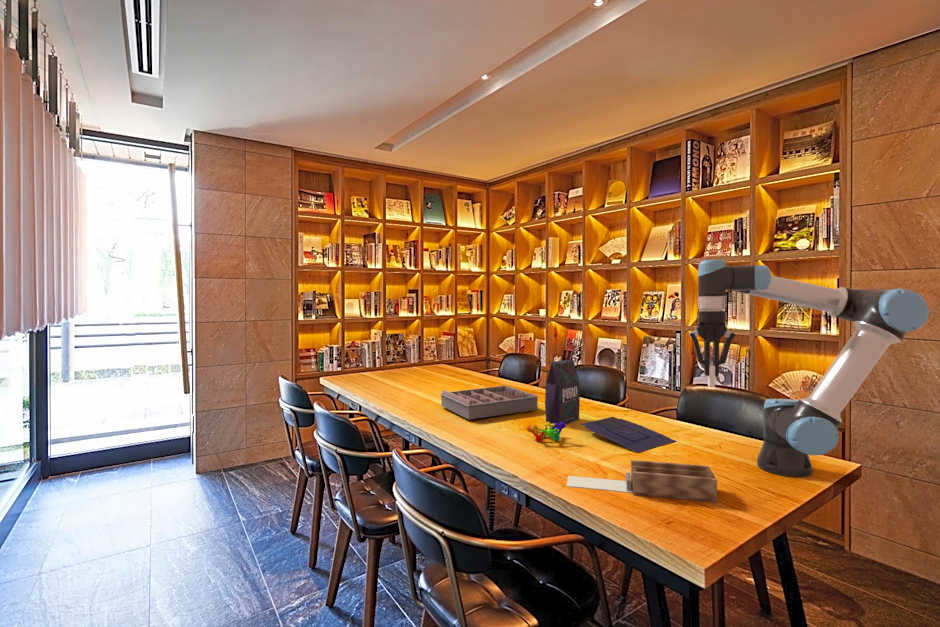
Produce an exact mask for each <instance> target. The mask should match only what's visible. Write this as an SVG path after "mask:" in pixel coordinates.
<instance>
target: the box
mask: <svg viewBox="0 0 940 627" xmlns="http://www.w3.org/2000/svg"><path fill="white" fill-rule="evenodd" d="M630 476H631V486H632V495H633V496H643V497H651V498H662V499H671V500H672V499H673V500H682V501H691V502H692V501H694V502H703V503H704V502H705V503H706V502H707V503H714V504H715V503H716V504H718V503H717V502H718V479H717V478H716V476H715V474H714V472H713V471H712V470H711V468H710V466H709V465H702V464H700V465H699V464H690V463H678V462H677V463H675V462H665V461H664V462H662V461H652V460H638V459H637V460H636V459H635V460H634V459H631V460H630Z"/></svg>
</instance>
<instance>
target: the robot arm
mask: <svg viewBox="0 0 940 627" xmlns="http://www.w3.org/2000/svg"><path fill="white" fill-rule="evenodd" d="M697 283H698V284H697V285H698V286H697V287H698V288H697V289H698V298H697V301H698V303H697V309H698V310H699V311H698V312H697V326H696V328H695V330H693V331H692V332H689V333H688V336H689V338H690V339H691V341H692V344H693V345H692V346H693V348H694V352H695V355H696V360H697V363H699V364H702V365H703V371H704V375H705V376H707V386H708V387H709V388H716V377H719V374H720V373H719V372H720V371H719V369H720V366H721V365H725V364H726V361H727V358H728V354H729V351H730V347H731V345H732V340H734V338H735V337H736V333H734V332H731V331H730V330H728V327H727V325H726V311H725V310H726V295H727V294H726V293H727V292H726V291H728V292H736V293H741V294H745V295H748V296H749V295H751V296H755V297H759V298H763V299H767V300H773V301H777V302H782V303H786V304H791V305H795V306H800V307H802V308H808V309H813V310H817V311H822V312H826V313H828V314H829V316H831V317H833V318H838V319H841V320H846V321H849V322H851V323H853V325H854V328H855V330H854V332H853V333H852V334H851V336H850V338H849V339H848V341H847V342H846V343H845V344H844V346H843V347H842V349H841V350H840V351H839V353H838V355H837V356H836V357H835V359H834V360H833V362H832V363H831V365H830V366H829V368H827V370H826V372H825V373H824V374H823V376H822V378H820V380H819V381H818V383H817V384H816V386H815V387H814V389H813V390H812V391H811V392H810V395H809V396H808V397H804V398H800V399H791V398H790V399H789V398H767V399H766V400H765V401H764V404H763V444H762V446H761V449H760V451H759V452H758V455H757V460H756V461H757V463H756V465H757V467H758V468H759V469H762V470H763V471H765V472H768V473H770V474H774V475H778V476H783V477H788V478H789V477H790V478H805V477H806V478H807V477H810V476H812V475H813V465H812V462H811V459H810V456H822V455H825V454H828V453H830V452H831V451H833V450H834V449H835V447H837V444H838V443H839V438H840V437H839V432H838V431H839V430H838V429H839V427H840V426H841V424H842V423H843V420H842V417H841V413H842V412H843V410H844V409H845V408H846V406H847V405H848V403H849V402H850V401H851V399H852V398H853V397H854V395H855V393H856V392H857V391H858V390H859V388H860V387H861V386H862V384H863V383H864V381H866V379H867V377H868V376H869V374H870V373H871V371H872V370H873V369H874V368H875V366H876V364H877V363H878V362H879V361H880V359H881V357H882V356H883V355H884V354H885V352H886V351H887V349H888V348H889V347H890V345H891V346H892V345H894V344H898V343H901V341H902V340H903V339H904V338H905V336H906V334H907V333H908V332H913V331H915V330H919V329H921V327H923V326H925V324H926V323H927V321H928V319H929V317H930V316H929V315H930V314H929V313H930V309H929V306H928V303H927V301H926V299H925V298H924V296H922V295H921V294H920V293H918V292H916V291H914V290H910V289H904V288H899V287H898V288H896V287H895V288H891V289H890V288H887V289H885V288H884V289H882V288H881V289H878V288H877V289H873V288H871V289H858V288H857V289H855V288H848V287H843V286H842V287H841V286H840V287H838V288H832V287H828V286H822V285H819V284H813V283H808V282H804V281H798V280H796V279H795V280H794V279H789V278H786V277H781V276H780V277H779V276H775V275H772V272H771V270H770V268H769V266H767V265H764V264H763V265H758V264H755V265H751V264H750V265H734V266H733V265H727V264H726V260H724V259H704V260H701V261H700V262H699V263H698V271H697ZM699 336H700V337H701V338H702V339H703V354H702V351H701V347H700V346H701V345H700V344H699V339H698V337H699ZM723 336H725V340H724V342H723V347H722V350H721V353H720V340H721V339H722V338H723ZM711 341H712V364H711V363H710V362H711V346H710V345H711ZM809 455H810V456H809Z"/></svg>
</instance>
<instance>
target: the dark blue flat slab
mask: <svg viewBox="0 0 940 627" xmlns="http://www.w3.org/2000/svg"><path fill="white" fill-rule="evenodd" d="M580 425H582V426H583V427H584V428H585V429H587V430H589V431H590V432H592V433H594V434H597V435H598V436H601V437H603V438H606V439H608V440H610V441H612V442H614V443H616V444H619V445H620V446H622V447H625V448H626V449H628V450H631V451H632V452H634V453H638V454H639V453H641V452H644V451H647V450H649V449H652V448H655V447H659V446H663V445H667V444H670V443H676V440H675V439H673V438H671V437H668V436H666V435H664V434H663V433H660V432H658V431H655V430H652V429H649V428H647V427H645V426H643V425H640V424H637V423H635V422H632V421H629V420H625V419H623V418H618V417H615V416H611V417H610V416H609V417H605V418H602V419H598V420H597V419H596V420H592V421H589V422H584V423H580Z"/></svg>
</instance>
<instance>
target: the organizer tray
mask: <svg viewBox="0 0 940 627" xmlns="http://www.w3.org/2000/svg"><path fill="white" fill-rule="evenodd" d="M439 395H441V396H440V397H441V399H440V400H441V401H440V402H441V404H440V405H441V407H443V408H444V409H447V410H448V411H450V412H453V413H454V414H457V415H458V416H461V417H463V418H464V419H467V420H475V419H482V418H487V417H495V416H497V418H498V416H502V415H508V414H515V413H523V412H528V411H529V412H530V411H535V410H538V398H540V396H539V395H536V394H535V393H534V394H532V393H530V392H526V391H524V390H521V389H518V388H514V387H511V386H509V385H498V386H490V387H482V388H481V387H480V388H473V389H465V390H454V391H448V390H445V389H443V390H442V392H440V393H439Z"/></svg>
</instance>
